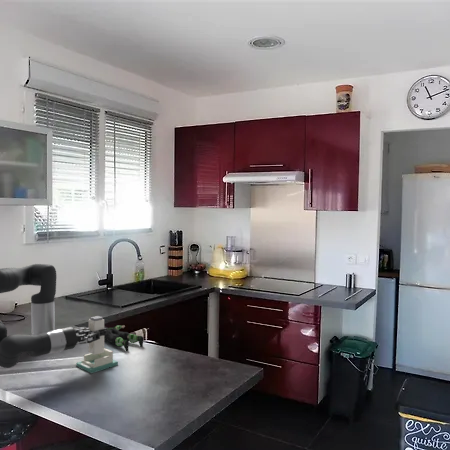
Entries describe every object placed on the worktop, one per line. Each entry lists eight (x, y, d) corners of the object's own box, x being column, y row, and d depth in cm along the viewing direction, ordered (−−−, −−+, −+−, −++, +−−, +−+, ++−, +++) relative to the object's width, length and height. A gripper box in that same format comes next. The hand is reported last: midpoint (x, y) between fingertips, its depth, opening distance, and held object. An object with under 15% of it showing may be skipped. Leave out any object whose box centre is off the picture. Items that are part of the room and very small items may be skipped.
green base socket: (76, 366, 163) (76, 352, 162) (102, 358, 171) (102, 345, 171) (91, 373, 156) (91, 358, 156) (117, 364, 164) (117, 350, 164)
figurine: (158, 342, 192) (117, 331, 212) (158, 328, 192) (117, 318, 212) (107, 357, 173) (68, 344, 193) (107, 342, 173) (67, 330, 193)
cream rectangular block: (87, 352, 162) (87, 317, 162) (98, 349, 166) (98, 315, 165) (93, 355, 160) (93, 319, 159) (104, 352, 163) (104, 317, 162)
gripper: (49, 346, 157) (93, 336, 170) (69, 355, 147) (114, 344, 160) (49, 325, 157) (92, 316, 169) (69, 333, 147) (114, 323, 160)
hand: (103, 330), depth 164 cm, fingers closed on cream rectangular block, 4 cm apart
